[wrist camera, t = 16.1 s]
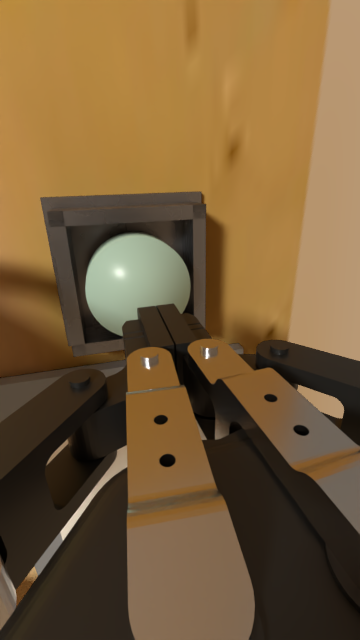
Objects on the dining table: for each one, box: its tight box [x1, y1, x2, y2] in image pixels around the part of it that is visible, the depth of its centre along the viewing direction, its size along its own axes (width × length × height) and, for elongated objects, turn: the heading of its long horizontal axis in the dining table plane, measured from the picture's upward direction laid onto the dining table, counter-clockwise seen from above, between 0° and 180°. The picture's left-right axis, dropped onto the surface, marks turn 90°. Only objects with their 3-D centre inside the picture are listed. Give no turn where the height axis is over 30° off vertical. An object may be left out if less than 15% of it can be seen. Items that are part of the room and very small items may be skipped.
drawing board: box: [0, 343, 244, 576], centre depth 29 cm, size 26×20×1 cm
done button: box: [85, 232, 190, 336], centre depth 19 cm, size 6×6×2 cm
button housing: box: [40, 192, 206, 357], centre depth 21 cm, size 10×10×3 cm
